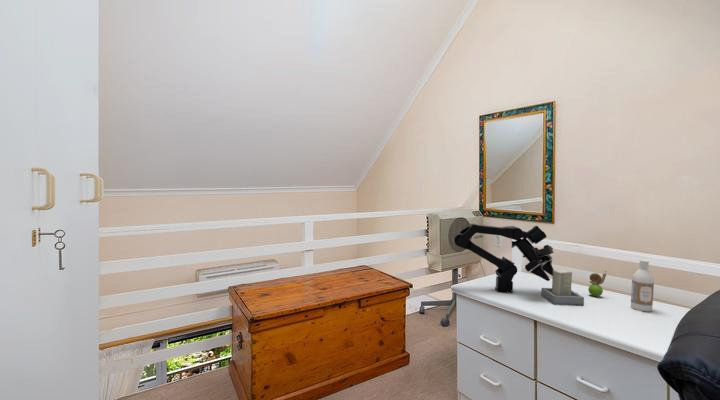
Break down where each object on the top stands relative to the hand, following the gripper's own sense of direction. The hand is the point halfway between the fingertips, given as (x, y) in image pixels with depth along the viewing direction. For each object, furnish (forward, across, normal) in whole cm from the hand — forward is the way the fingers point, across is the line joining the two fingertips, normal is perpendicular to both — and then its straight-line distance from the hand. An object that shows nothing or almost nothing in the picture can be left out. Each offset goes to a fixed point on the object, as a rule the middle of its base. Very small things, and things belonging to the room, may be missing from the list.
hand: (552, 278), depth 157 cm
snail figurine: (+16, +19, -3) cm, 25 cm away
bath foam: (+27, +13, -15) cm, 34 cm away
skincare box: (+8, 0, +3) cm, 9 cm away
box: (+9, 0, +3) cm, 10 cm away
